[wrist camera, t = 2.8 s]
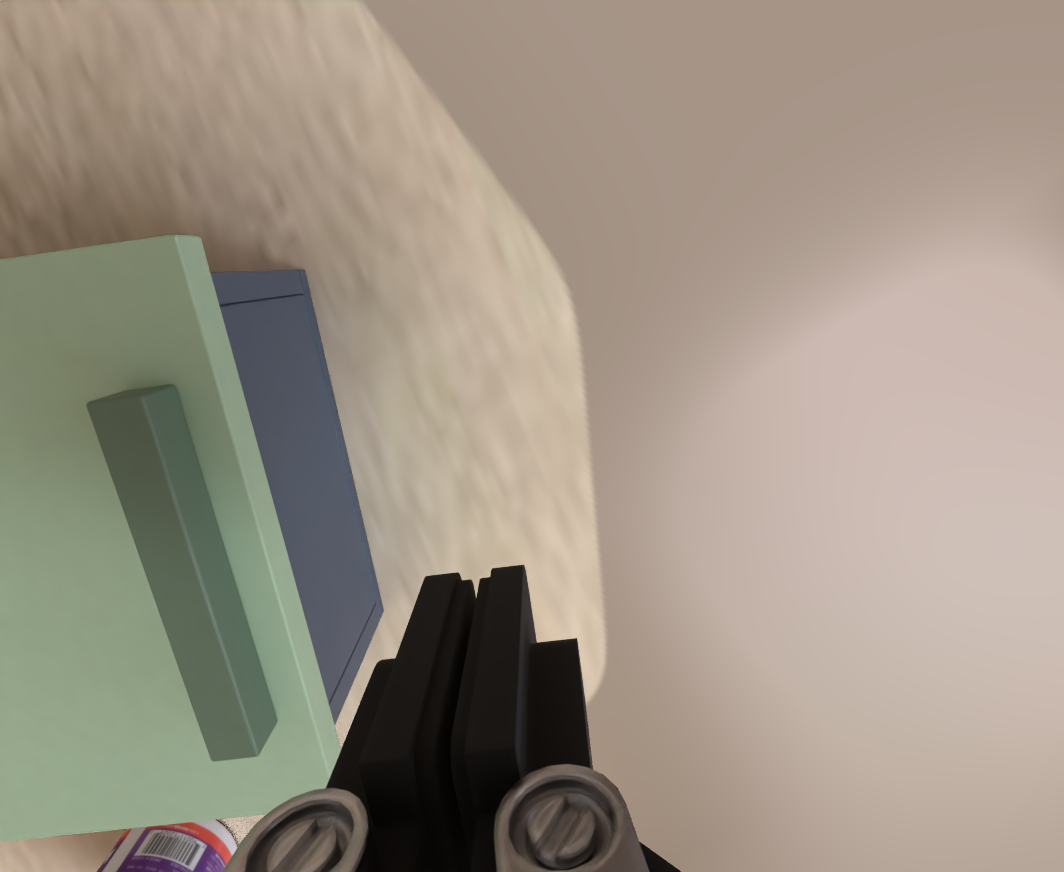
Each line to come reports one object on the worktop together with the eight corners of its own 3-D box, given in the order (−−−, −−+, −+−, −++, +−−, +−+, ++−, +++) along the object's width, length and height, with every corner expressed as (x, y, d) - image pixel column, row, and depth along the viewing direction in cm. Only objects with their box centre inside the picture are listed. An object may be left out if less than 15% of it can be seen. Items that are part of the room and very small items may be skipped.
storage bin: (-69, 321, 21) (-387, 353, 14) (305, 269, 21) (179, 272, 13) (65, 648, 25) (-130, 808, 18) (384, 611, 24) (320, 760, 17)
